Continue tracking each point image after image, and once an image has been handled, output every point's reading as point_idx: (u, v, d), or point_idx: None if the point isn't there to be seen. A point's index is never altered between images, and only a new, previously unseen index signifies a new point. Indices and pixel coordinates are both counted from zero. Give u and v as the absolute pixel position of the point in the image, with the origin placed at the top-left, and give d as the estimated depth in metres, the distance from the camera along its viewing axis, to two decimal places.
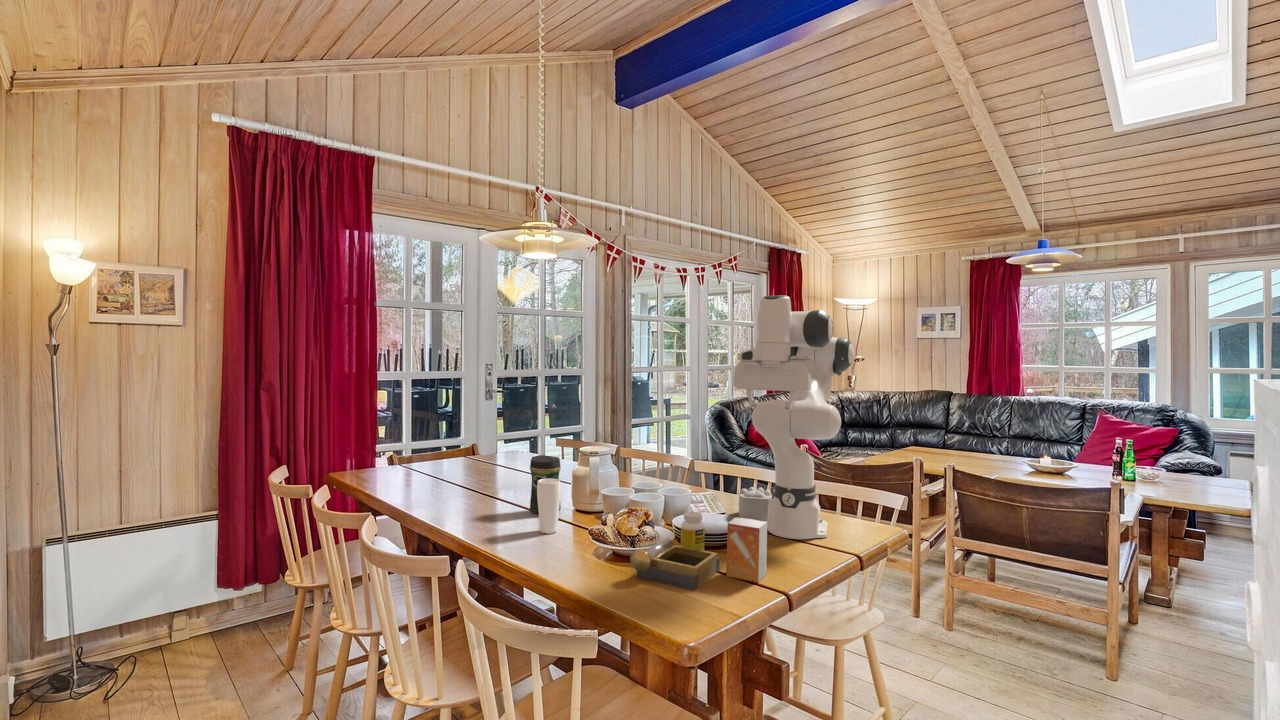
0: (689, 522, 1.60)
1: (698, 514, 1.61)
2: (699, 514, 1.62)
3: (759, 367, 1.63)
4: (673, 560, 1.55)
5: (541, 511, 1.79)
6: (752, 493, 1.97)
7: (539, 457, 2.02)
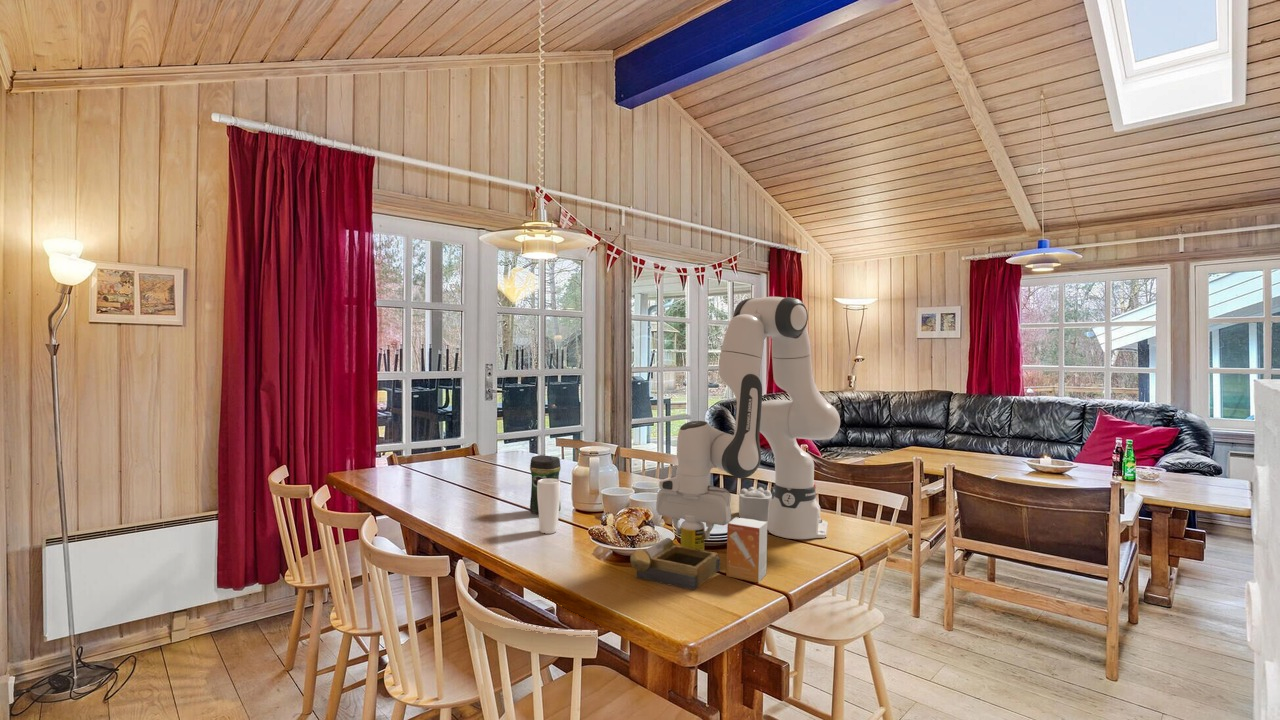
0: (689, 522, 1.60)
1: None
2: None
3: (680, 496, 1.62)
4: (673, 560, 1.55)
5: (541, 511, 1.79)
6: (752, 493, 1.97)
7: (539, 457, 2.02)
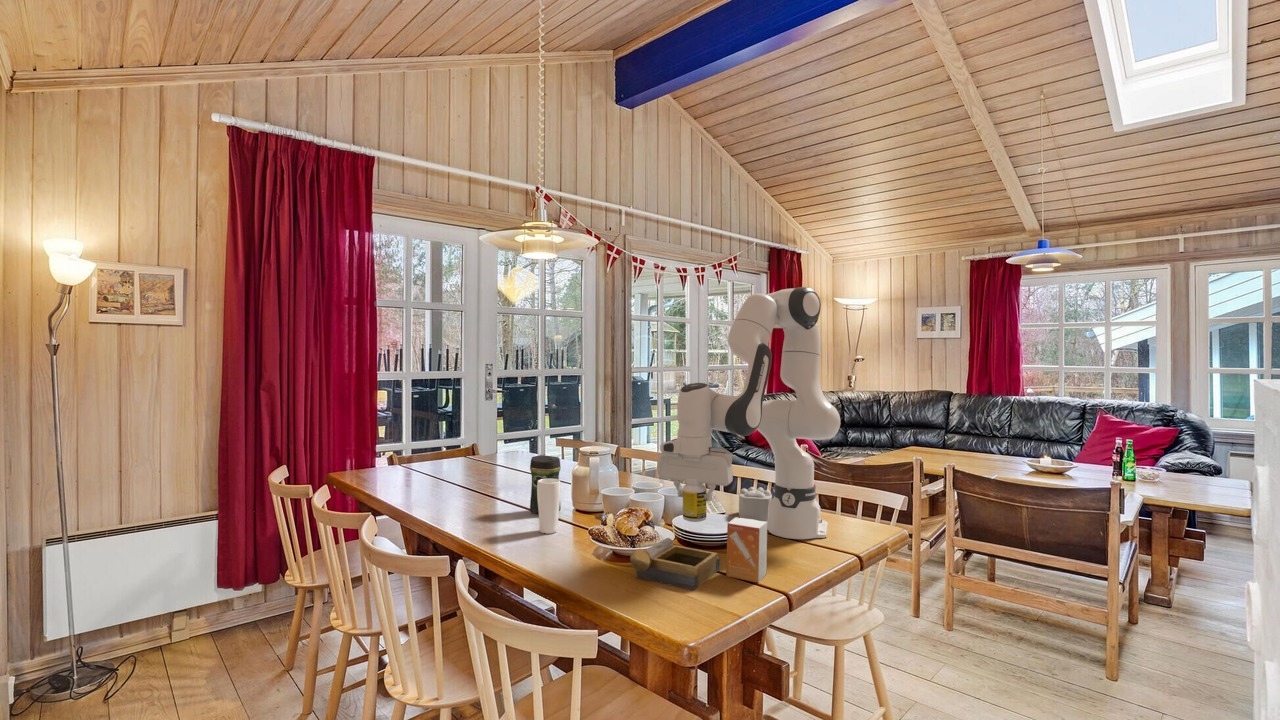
0: (691, 485, 1.60)
1: None
2: None
3: (681, 458, 1.61)
4: (673, 560, 1.55)
5: (541, 511, 1.79)
6: (752, 493, 1.97)
7: (539, 457, 2.02)
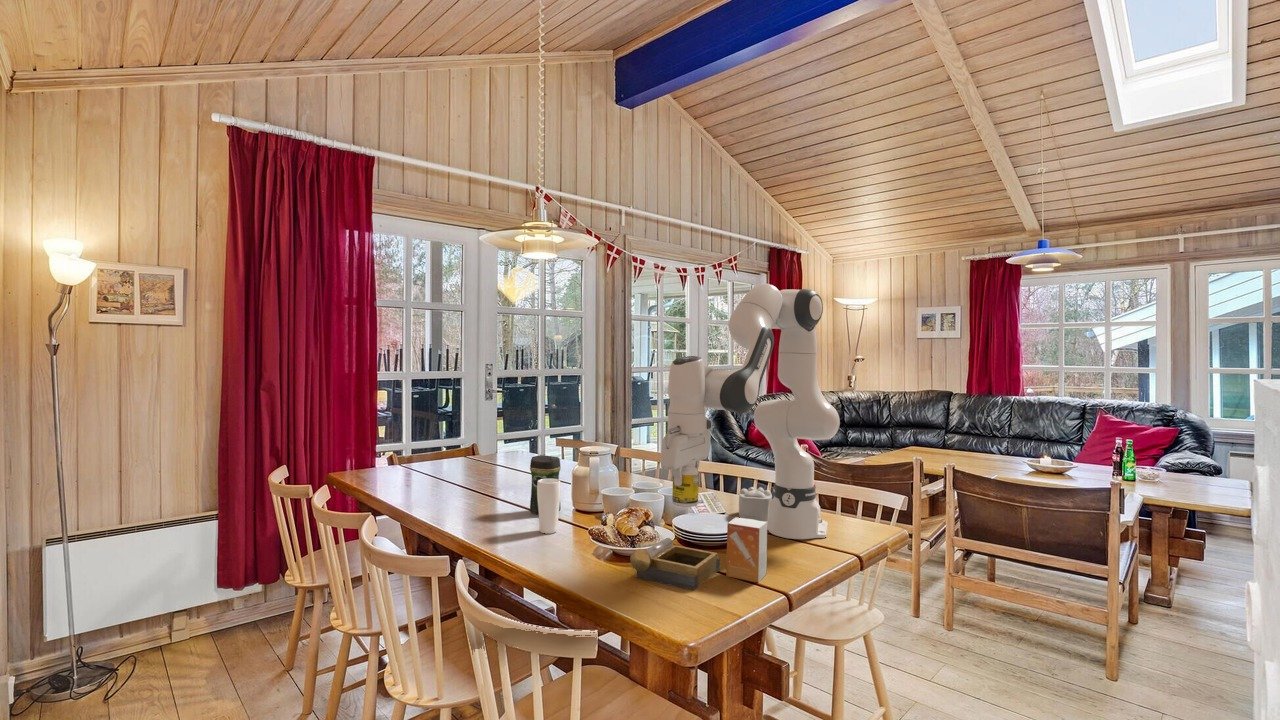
0: None
1: None
2: None
3: None
4: (673, 560, 1.55)
5: (541, 511, 1.79)
6: (752, 493, 1.97)
7: (539, 457, 2.02)
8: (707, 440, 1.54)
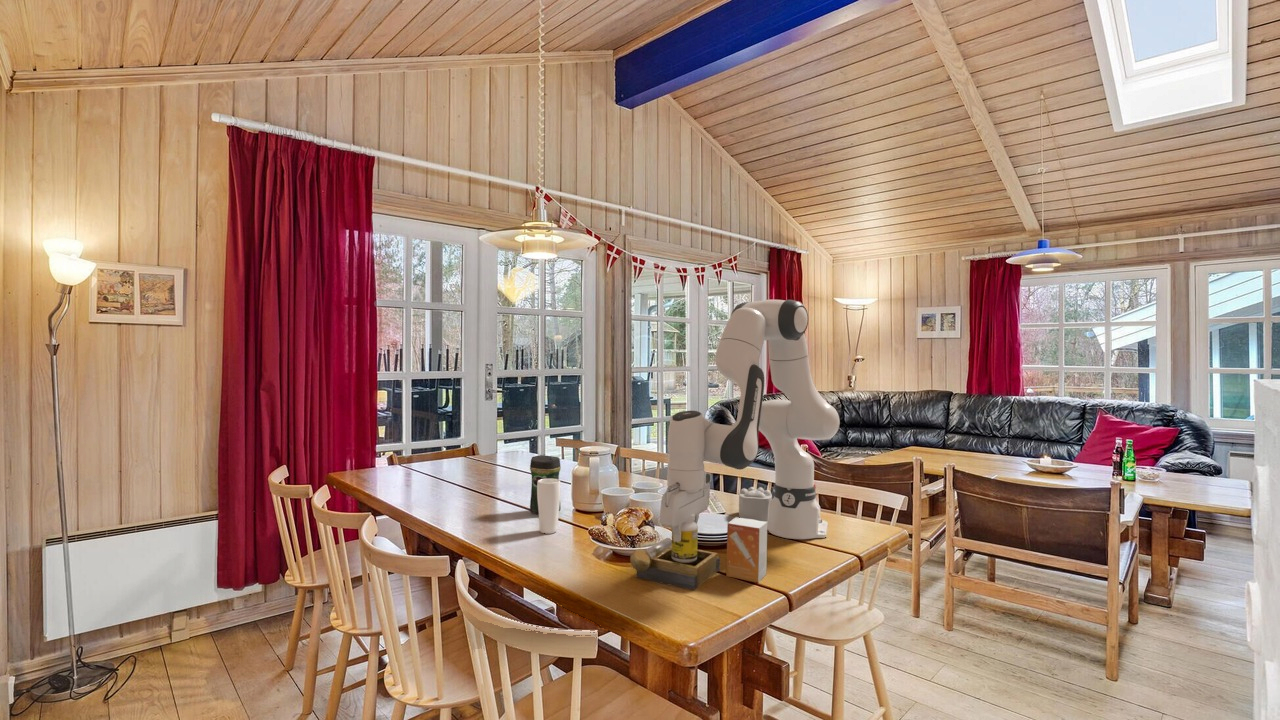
0: None
1: None
2: None
3: None
4: (673, 560, 1.55)
5: (541, 511, 1.79)
6: (752, 493, 1.97)
7: (539, 457, 2.02)
8: (706, 493, 1.54)
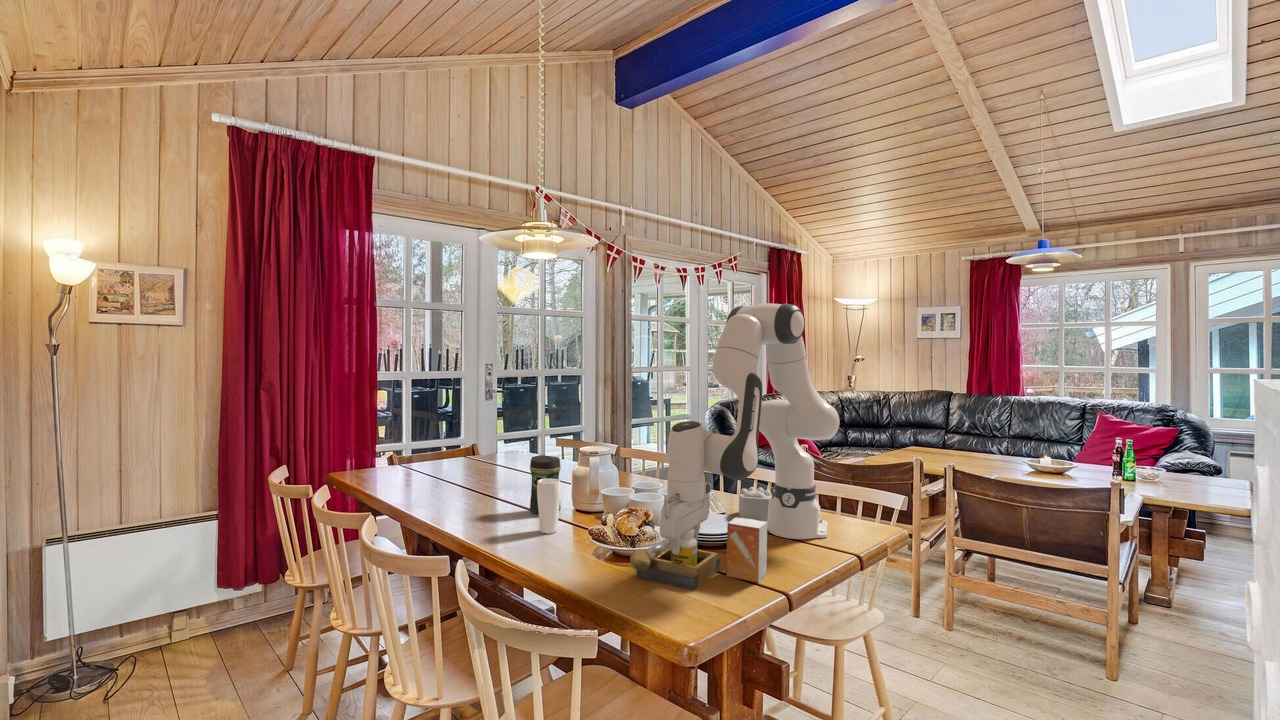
0: None
1: None
2: None
3: None
4: None
5: (541, 511, 1.79)
6: (752, 493, 1.97)
7: (539, 457, 2.02)
8: (706, 503, 1.54)
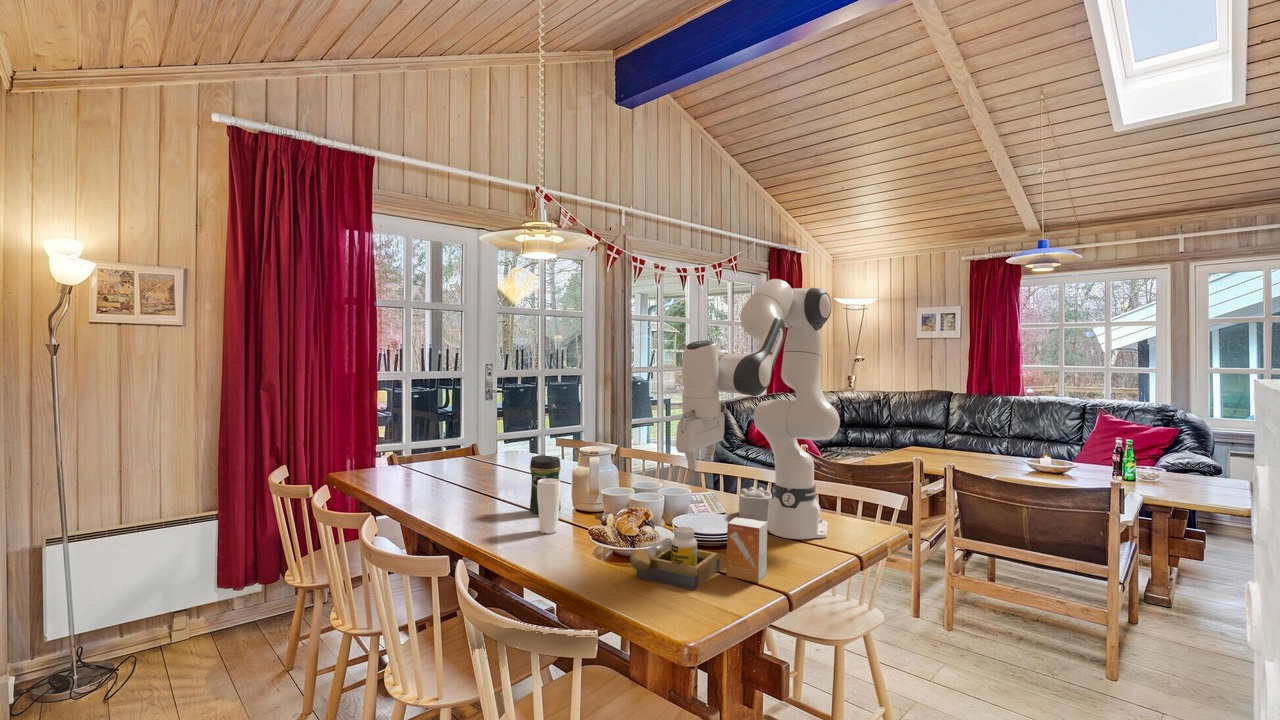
0: None
1: (683, 531, 1.47)
2: (684, 531, 1.47)
3: None
4: None
5: (541, 511, 1.79)
6: (752, 493, 1.97)
7: (539, 457, 2.02)
8: (721, 424, 1.55)
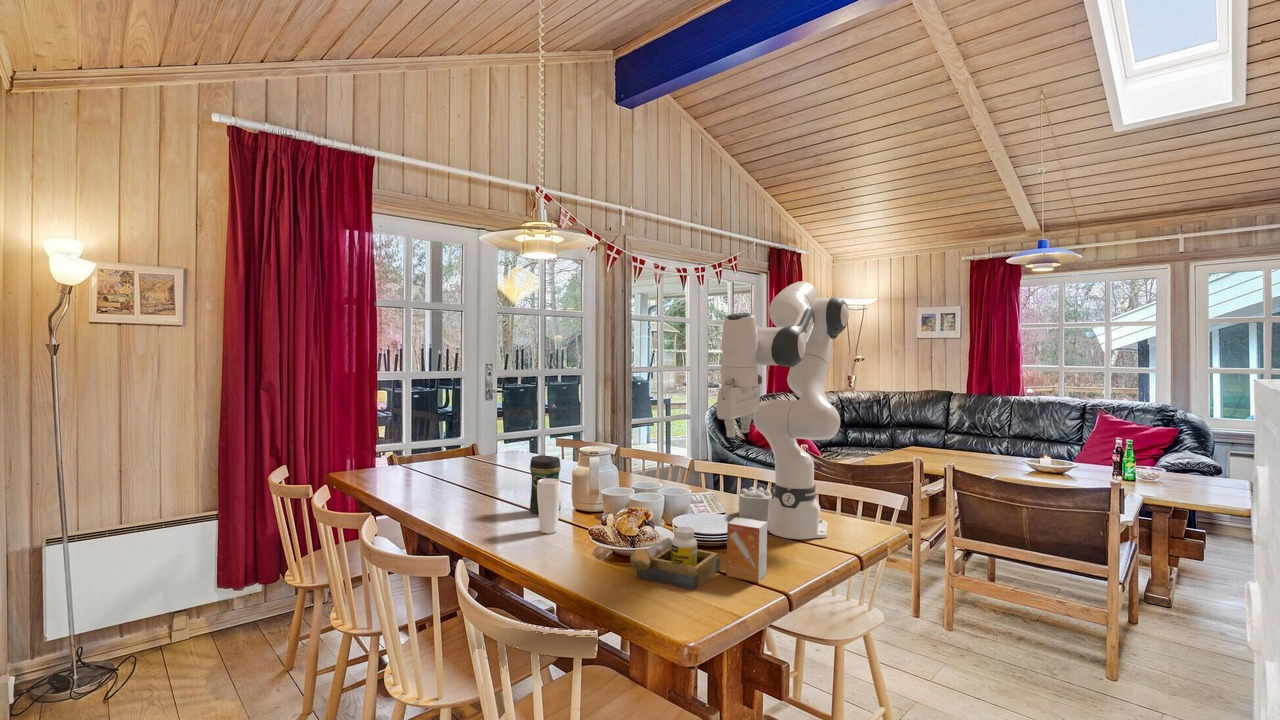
0: None
1: (683, 531, 1.47)
2: (684, 531, 1.47)
3: None
4: None
5: (541, 511, 1.79)
6: (752, 493, 1.97)
7: (539, 457, 2.02)
8: (757, 396, 1.59)
